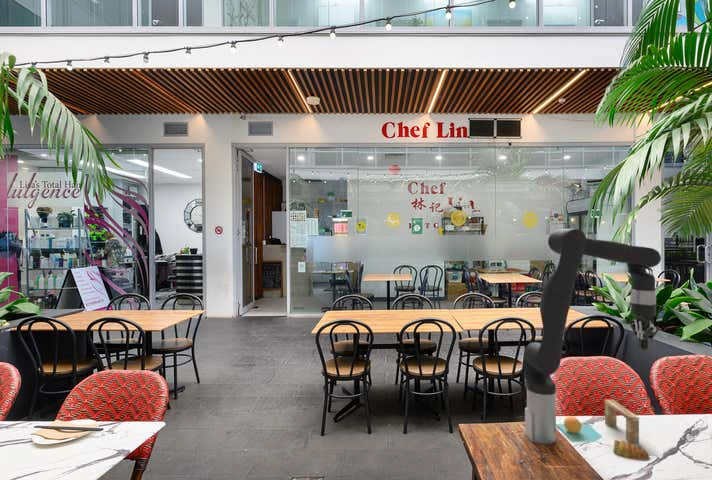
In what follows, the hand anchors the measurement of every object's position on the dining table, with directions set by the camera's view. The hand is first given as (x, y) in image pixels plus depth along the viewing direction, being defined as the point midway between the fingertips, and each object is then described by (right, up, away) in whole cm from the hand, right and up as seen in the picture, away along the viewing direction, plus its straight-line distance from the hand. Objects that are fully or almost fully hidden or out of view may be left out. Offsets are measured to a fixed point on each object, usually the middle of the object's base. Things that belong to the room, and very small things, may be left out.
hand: (643, 349), depth 143 cm
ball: (-28, -27, -3) cm, 39 cm away
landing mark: (-25, -29, -3) cm, 39 cm away
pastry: (-18, -30, -17) cm, 39 cm away
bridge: (-11, -29, -4) cm, 31 cm away
